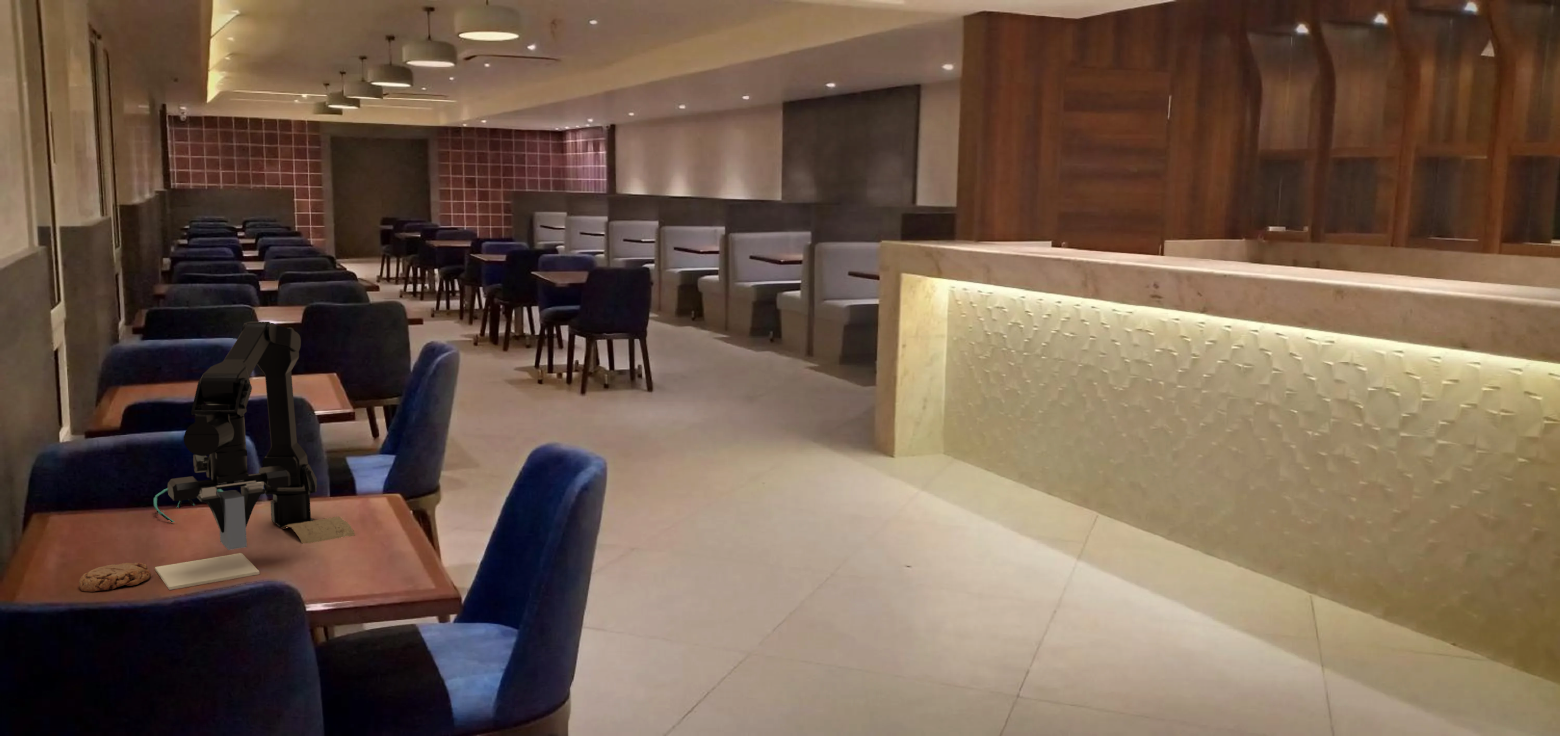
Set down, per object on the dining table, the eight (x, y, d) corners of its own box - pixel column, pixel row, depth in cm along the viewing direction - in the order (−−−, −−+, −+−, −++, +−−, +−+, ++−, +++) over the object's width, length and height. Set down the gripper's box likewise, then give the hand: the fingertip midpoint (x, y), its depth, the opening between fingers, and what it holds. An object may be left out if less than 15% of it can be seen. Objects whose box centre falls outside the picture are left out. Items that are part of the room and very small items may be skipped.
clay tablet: (357, 538, 222) (356, 524, 221) (303, 548, 215) (302, 534, 215) (330, 522, 233) (329, 509, 232) (278, 531, 226) (277, 518, 226)
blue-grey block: (239, 538, 205) (236, 489, 203) (247, 546, 200) (244, 496, 199) (220, 541, 203) (217, 492, 202) (228, 549, 198) (225, 499, 197)
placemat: (241, 555, 209) (241, 552, 208) (259, 573, 198) (259, 571, 198) (155, 569, 200) (154, 566, 200) (169, 589, 190) (169, 586, 190)
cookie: (65, 589, 190) (63, 572, 190) (122, 571, 200) (121, 554, 200) (108, 597, 187) (107, 580, 186) (164, 578, 197) (163, 561, 196)
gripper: (272, 429, 211) (277, 512, 213) (158, 441, 199) (164, 528, 202) (289, 439, 202) (293, 525, 204) (171, 453, 191) (177, 543, 193)
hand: (233, 530), depth 201 cm, fingers closed on blue-grey block, 3 cm apart
